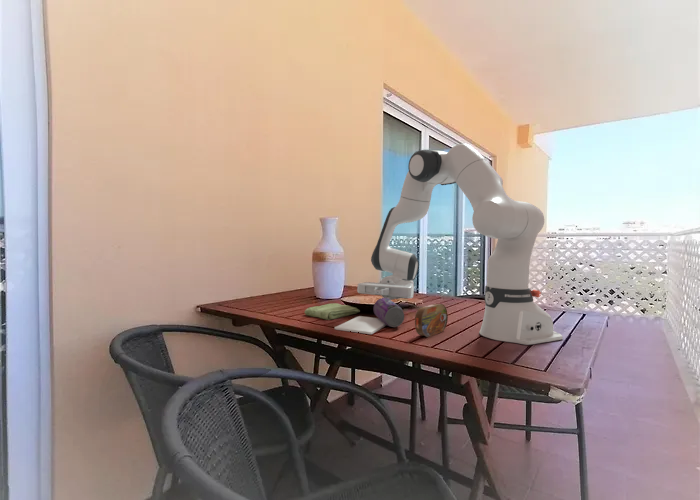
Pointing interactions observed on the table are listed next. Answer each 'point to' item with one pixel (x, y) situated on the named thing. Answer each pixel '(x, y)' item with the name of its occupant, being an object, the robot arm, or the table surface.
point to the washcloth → (331, 311)
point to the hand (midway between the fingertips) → (377, 292)
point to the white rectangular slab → (362, 325)
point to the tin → (431, 320)
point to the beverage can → (388, 312)
